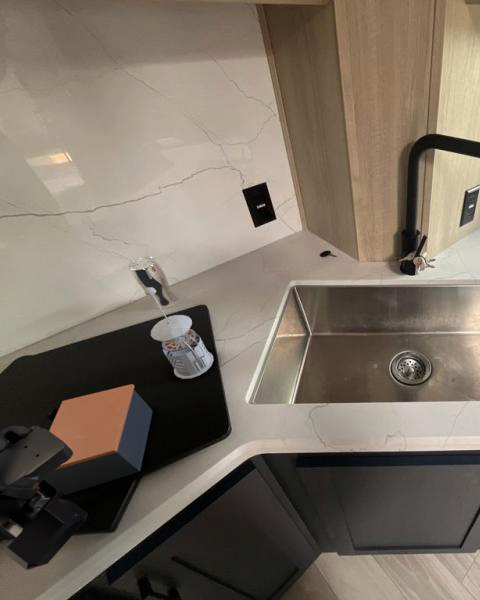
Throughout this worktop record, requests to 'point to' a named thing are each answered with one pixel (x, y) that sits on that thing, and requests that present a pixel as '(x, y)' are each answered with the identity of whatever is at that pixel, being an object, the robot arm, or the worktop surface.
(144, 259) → the beer glass
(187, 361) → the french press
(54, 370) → the worktop surface
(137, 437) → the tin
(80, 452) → the orange square plate
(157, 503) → the worktop surface
